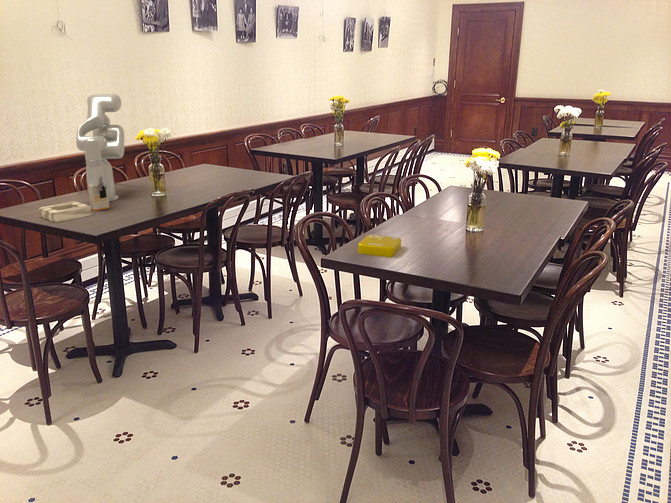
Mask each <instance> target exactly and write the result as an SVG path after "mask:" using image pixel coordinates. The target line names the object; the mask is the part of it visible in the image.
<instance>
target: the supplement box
mask: <svg viewBox="0 0 671 503" xmlns="http://www.w3.org/2000/svg"><path fill="white" fill-rule="evenodd" d="M106 186H107V185H106ZM101 188H102V186H101ZM99 191H100V189H99V187H98V186H97V187H95V186H93V185H88V184H87V192H88V198H89V199H88V200H89V206H91V211H94V212H96V211H101V210H108V209H110V201H109V199H108V192H107V187H106V196H107V197H106V198H100V192H99Z"/></svg>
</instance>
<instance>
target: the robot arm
mask: <svg viewBox="0 0 671 503" xmlns="http://www.w3.org/2000/svg"><path fill="white" fill-rule="evenodd" d="M86 101H87V116H86V119H85V120H84V121H83V122H82V123H81V124H80V125H79V126H78V128H77V130H76V142H75V143H76V144H75V145H76V148H77V149H78V151H81V152H84V157H85V165H86V167H85V174H86V184H87V185H93V186H95V187H97V186H98V187H99V189H100V191H99V192H100V198H106V197H107V196H106V187H107V192H108V199H109V202H114V201H117V200H118V199H120V198H119V196H118V195H117V194H116V190H115V182H114V173H113V167H112V166H113V165H111V163H110V162H109V161H108V160H111V159H122V158H123V156H124V155H125V130H124V128H123V127H122V126H121V125H120V124H111V119H110V118H109V116H108V115H107V114H106V113H117V112H118V111H119V110H120V109H121V107H122V100H121V96H120V95H119V94H118V93H117V94H116V93H115V94H113V93H112V94H111V93H109V94H101V93H99V94H98V93H97V94H92V95H91V94H90V95H89V96H88V97H87V99H86ZM89 132H92V135H87V134H88V133H89ZM106 185H107V186H106ZM101 186H102V188H101Z"/></svg>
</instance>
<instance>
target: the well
mask: <svg viewBox="0 0 671 503" xmlns="http://www.w3.org/2000/svg"><path fill="white" fill-rule="evenodd" d="M38 212H39V217H40V218H42V219H45V220H48V221H50V222H53V223H62V222H67V221H70V220H75V219H79V218H85V217H89V216H92V215H93V214H92V210H91V206H90V205H88V204H85V203H83V202H78V201H75V200H73V201H68V202H63V203H58V204H52V205H47V206H46V205H45V206H42V207H41V206H40V207H39V208H38Z"/></svg>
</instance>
